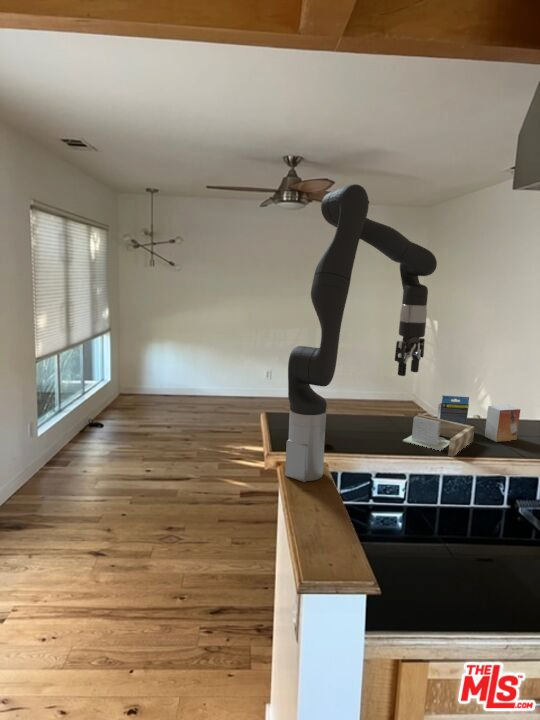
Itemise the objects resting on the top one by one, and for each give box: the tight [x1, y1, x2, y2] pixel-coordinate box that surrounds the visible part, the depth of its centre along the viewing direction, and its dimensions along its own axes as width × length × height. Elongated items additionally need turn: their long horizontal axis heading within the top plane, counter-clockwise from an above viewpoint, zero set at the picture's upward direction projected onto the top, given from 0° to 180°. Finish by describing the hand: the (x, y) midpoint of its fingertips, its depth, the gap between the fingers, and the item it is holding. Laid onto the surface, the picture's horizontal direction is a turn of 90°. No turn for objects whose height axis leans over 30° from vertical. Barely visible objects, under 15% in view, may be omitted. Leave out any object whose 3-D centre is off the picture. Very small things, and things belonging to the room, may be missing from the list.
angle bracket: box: [411, 415, 446, 447], centre depth 157 cm, size 8×6×8 cm
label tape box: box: [436, 394, 470, 425], centre depth 169 cm, size 9×4×12 cm, turn 85°
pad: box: [402, 434, 450, 452], centre depth 157 cm, size 10×12×1 cm
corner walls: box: [416, 413, 475, 458], centre depth 157 cm, size 17×18×5 cm
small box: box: [484, 404, 521, 443], centre depth 162 cm, size 8×6×10 cm
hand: (408, 373), depth 152 cm, fingers open, 8 cm apart
